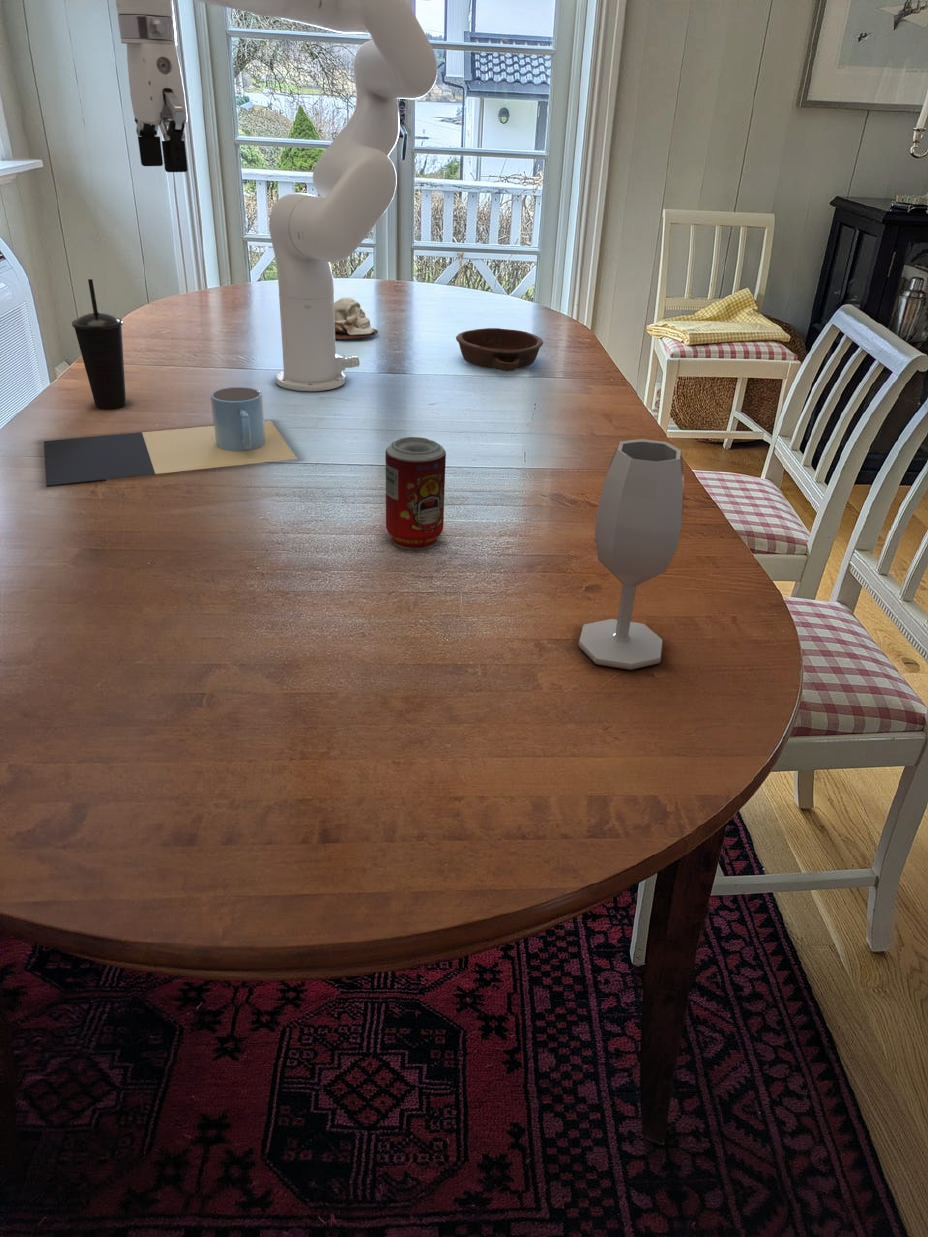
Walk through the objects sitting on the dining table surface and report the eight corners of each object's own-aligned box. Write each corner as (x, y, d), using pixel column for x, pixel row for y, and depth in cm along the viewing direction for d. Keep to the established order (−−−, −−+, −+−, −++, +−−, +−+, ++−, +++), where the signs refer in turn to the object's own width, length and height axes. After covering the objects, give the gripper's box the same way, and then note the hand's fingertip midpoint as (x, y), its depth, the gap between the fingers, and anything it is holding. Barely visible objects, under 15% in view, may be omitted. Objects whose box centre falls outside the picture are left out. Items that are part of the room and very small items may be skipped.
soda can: (411, 557, 107) (411, 459, 101) (374, 537, 112) (372, 441, 105) (455, 541, 111) (458, 446, 105) (418, 523, 116) (419, 430, 110)
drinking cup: (120, 414, 148) (99, 285, 137) (77, 409, 149) (53, 281, 139) (143, 400, 154) (125, 276, 144) (102, 396, 155) (81, 273, 145)
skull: (391, 327, 201) (373, 297, 191) (371, 366, 199) (352, 337, 189) (348, 317, 206) (328, 287, 196) (327, 355, 203) (306, 326, 194)
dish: (461, 378, 173) (461, 351, 170) (450, 348, 192) (450, 324, 189) (550, 378, 175) (553, 352, 172) (531, 349, 194) (533, 325, 191)
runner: (270, 421, 147) (270, 420, 147) (297, 459, 133) (297, 458, 133) (44, 442, 135) (43, 441, 135) (46, 486, 121) (46, 485, 121)
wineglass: (569, 626, 95) (591, 433, 84) (650, 625, 96) (682, 433, 85) (586, 673, 88) (612, 467, 77) (674, 671, 88) (712, 468, 78)
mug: (212, 437, 139) (206, 388, 136) (260, 432, 142) (256, 385, 138) (224, 460, 131) (218, 410, 127) (274, 455, 134) (271, 405, 130)
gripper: (198, 33, 123) (211, 173, 131) (152, 34, 134) (167, 163, 143) (143, 29, 119) (160, 174, 127) (101, 31, 130) (119, 164, 139)
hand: (164, 168), depth 135 cm, fingers open, 9 cm apart
